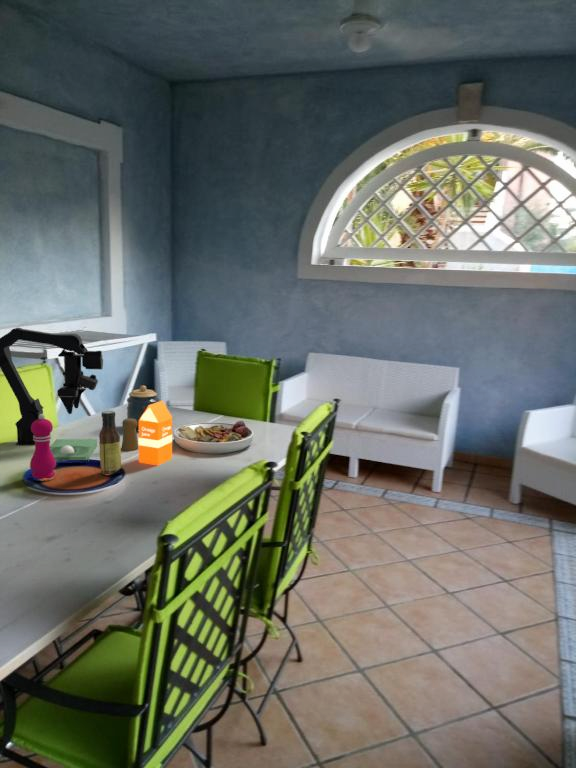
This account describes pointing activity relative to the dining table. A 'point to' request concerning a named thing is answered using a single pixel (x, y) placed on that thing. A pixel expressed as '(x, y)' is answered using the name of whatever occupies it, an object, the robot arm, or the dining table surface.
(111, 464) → the sauce bottle
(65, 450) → the ball
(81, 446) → the green flat block
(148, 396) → the canister
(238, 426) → the bowl
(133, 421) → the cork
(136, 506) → the dining table surface
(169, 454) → the orange juice
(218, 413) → the dining table surface
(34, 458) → the pepper mill
